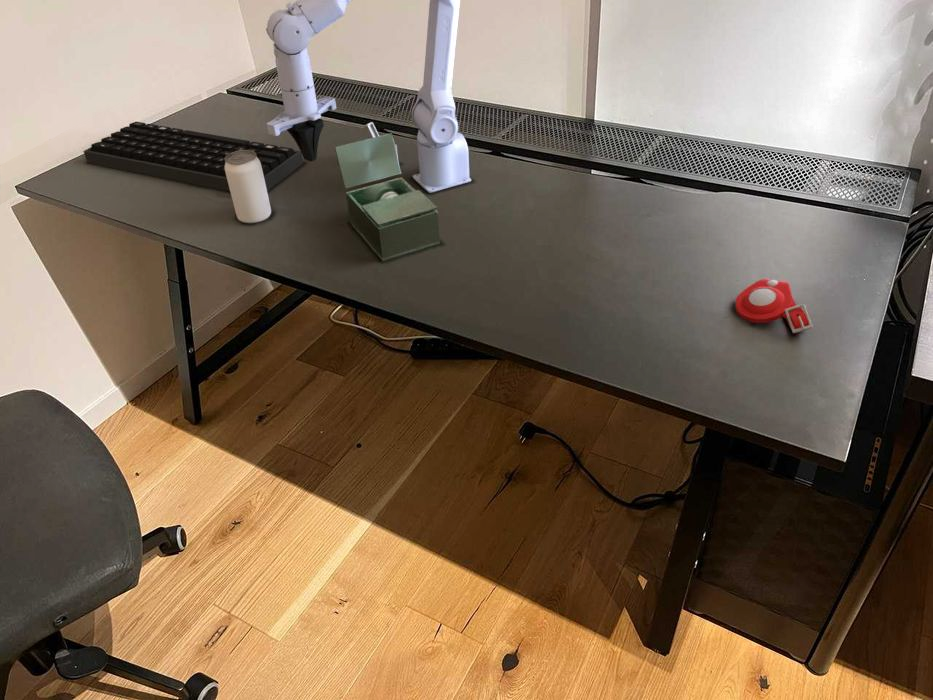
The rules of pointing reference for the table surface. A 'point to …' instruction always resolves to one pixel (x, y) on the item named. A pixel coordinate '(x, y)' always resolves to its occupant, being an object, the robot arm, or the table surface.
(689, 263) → the table surface
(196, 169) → the computer keyboard
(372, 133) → the lighter
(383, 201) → the green lidded box
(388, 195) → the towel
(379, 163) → the green flat panel
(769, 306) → the tracker holder
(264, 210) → the can
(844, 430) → the table surface
